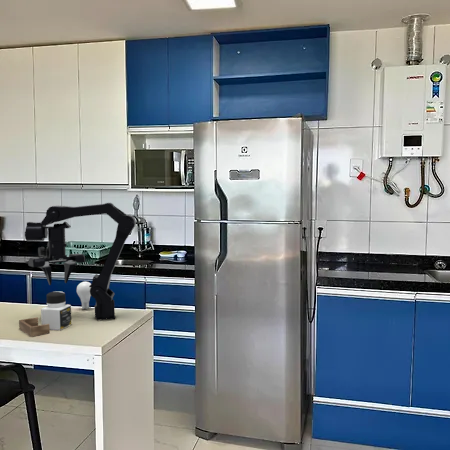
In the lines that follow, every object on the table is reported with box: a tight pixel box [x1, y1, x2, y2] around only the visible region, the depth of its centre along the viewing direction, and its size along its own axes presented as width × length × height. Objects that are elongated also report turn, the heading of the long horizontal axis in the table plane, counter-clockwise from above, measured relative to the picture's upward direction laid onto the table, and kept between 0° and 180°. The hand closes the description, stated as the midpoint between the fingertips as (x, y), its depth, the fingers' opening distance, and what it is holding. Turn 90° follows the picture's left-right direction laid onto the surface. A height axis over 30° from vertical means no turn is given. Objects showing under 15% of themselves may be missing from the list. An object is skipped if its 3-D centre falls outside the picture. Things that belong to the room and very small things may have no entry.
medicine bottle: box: [40, 290, 72, 331], centre depth 162 cm, size 7×7×12 cm
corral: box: [18, 316, 51, 338], centre depth 157 cm, size 6×12×3 cm, turn 40°
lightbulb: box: [76, 281, 92, 310], centre depth 186 cm, size 6×6×11 cm
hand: (58, 283), depth 171 cm, fingers open, 5 cm apart
